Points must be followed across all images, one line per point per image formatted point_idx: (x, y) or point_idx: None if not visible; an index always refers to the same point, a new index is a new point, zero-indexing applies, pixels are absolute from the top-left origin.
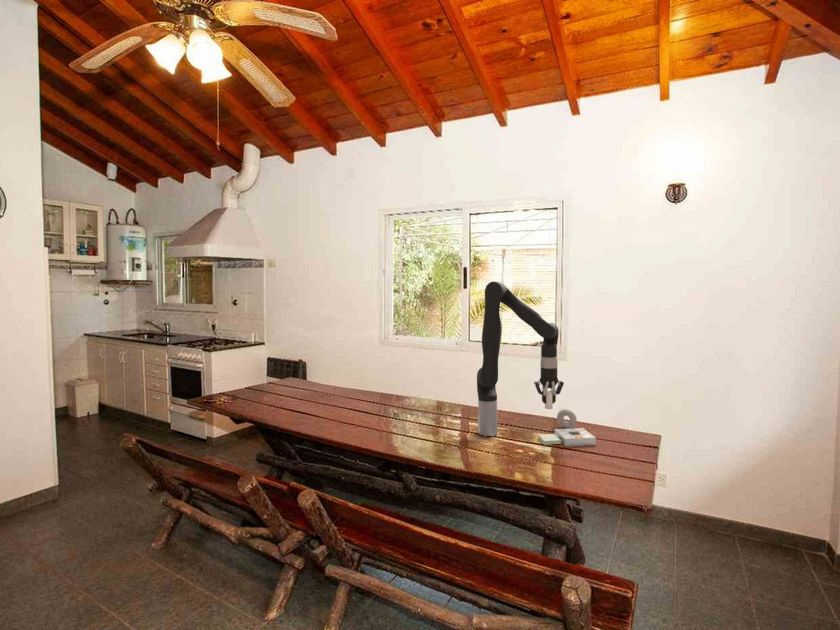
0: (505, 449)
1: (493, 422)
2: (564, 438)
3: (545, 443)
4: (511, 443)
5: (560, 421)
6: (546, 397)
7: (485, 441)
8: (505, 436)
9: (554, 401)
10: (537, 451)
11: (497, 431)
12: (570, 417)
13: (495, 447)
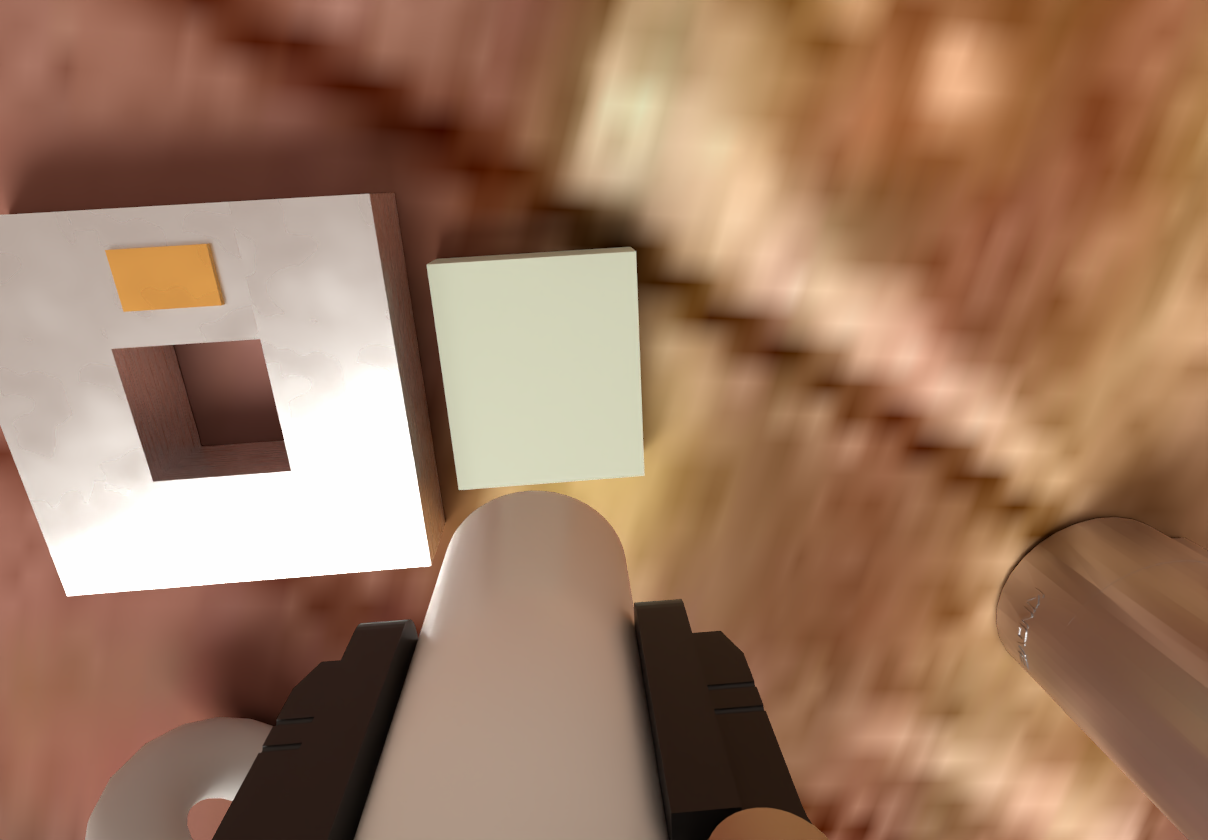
0: (1101, 129)
1: (1194, 614)
2: (375, 221)
3: (617, 248)
4: (964, 322)
5: None
6: (636, 762)
7: (1197, 392)
8: (946, 528)
9: (339, 676)
10: (768, 31)
11: (1020, 601)
12: (165, 809)
13: (1178, 202)
